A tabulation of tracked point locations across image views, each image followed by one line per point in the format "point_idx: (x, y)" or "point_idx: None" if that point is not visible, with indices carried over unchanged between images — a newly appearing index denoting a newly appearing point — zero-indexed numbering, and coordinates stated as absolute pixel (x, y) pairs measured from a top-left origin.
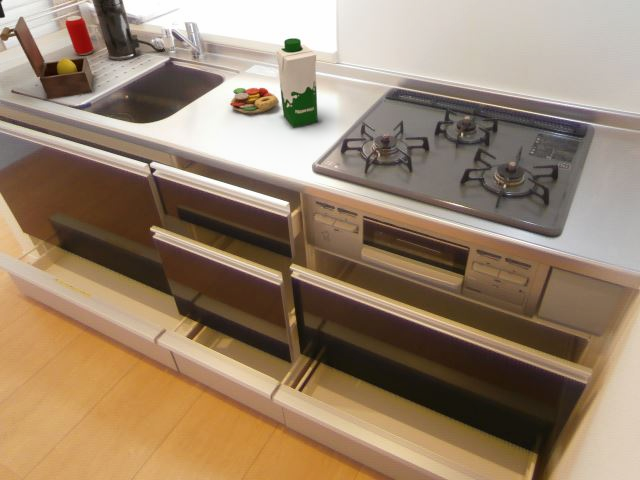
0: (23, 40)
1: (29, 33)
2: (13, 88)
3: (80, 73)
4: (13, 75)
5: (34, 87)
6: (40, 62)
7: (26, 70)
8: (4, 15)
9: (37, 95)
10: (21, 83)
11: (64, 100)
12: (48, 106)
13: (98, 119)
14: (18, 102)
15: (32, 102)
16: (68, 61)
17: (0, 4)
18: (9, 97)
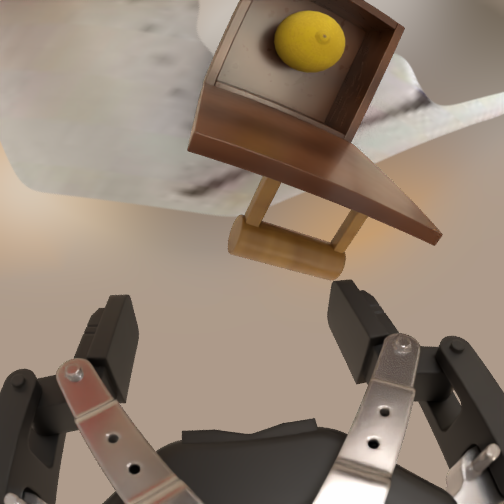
0: (393, 191)
1: (232, 117)
2: (167, 188)
3: (399, 38)
4: (63, 174)
5: None
6: (274, 111)
7: (45, 136)
8: (353, 284)
9: None
10: (142, 162)
11: None
12: (367, 145)
13: (487, 104)
14: (283, 196)
15: None
16: (337, 29)
17: (382, 333)
18: (229, 208)
